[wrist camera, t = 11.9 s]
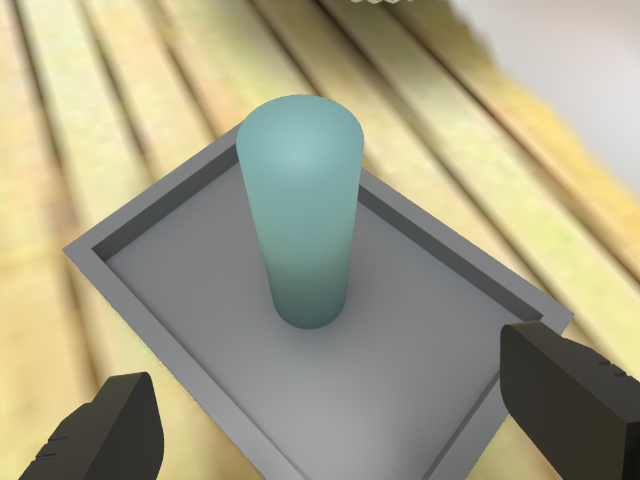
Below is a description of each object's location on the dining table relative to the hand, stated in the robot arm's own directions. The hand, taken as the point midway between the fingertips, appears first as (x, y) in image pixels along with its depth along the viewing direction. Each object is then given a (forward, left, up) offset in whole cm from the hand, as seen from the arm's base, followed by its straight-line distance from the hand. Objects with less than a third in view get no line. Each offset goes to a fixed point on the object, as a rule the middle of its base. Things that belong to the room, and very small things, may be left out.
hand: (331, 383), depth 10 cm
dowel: (-5, +4, -10) cm, 12 cm away
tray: (-5, +4, -11) cm, 13 cm away
